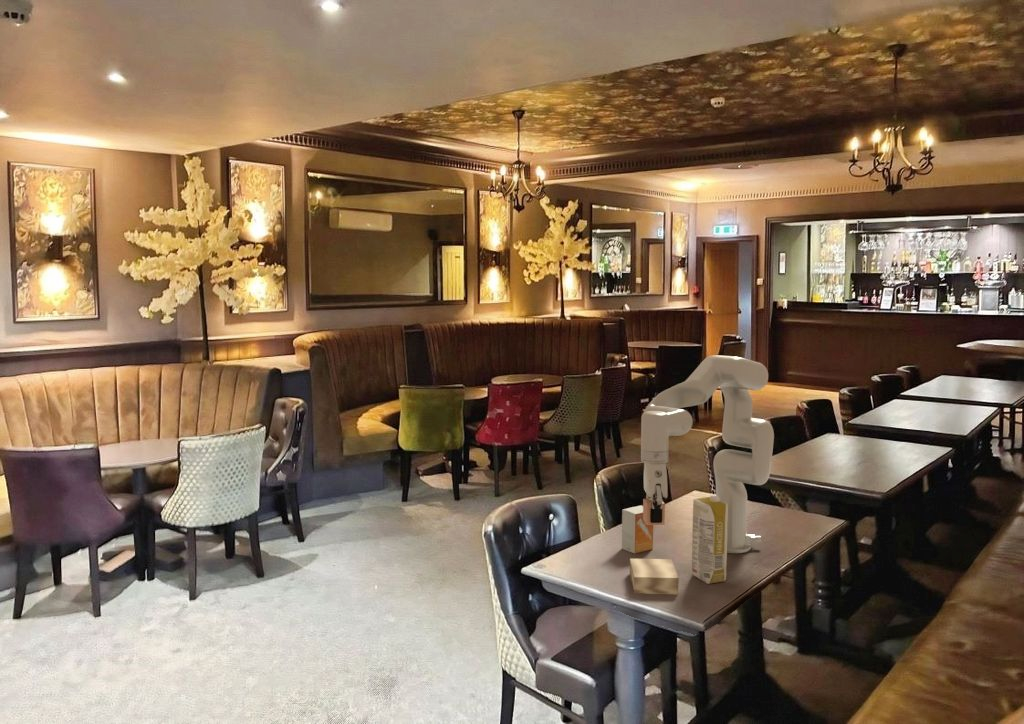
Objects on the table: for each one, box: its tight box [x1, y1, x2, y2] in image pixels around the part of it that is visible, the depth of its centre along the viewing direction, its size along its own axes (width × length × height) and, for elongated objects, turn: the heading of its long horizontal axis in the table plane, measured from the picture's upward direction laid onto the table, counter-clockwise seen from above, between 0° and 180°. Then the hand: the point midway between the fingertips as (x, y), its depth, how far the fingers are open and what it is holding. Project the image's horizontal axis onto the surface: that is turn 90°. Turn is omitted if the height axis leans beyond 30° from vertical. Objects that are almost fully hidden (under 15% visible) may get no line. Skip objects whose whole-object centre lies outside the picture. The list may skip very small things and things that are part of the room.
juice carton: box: [691, 495, 728, 585], centre depth 217 cm, size 9×8×24 cm
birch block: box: [629, 558, 680, 595], centre depth 215 cm, size 12×14×5 cm
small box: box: [621, 504, 654, 555], centre depth 242 cm, size 8×6×13 cm
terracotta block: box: [642, 498, 666, 526], centre depth 213 cm, size 5×5×6 cm
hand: (653, 518), depth 213 cm, fingers closed on terracotta block, 5 cm apart
